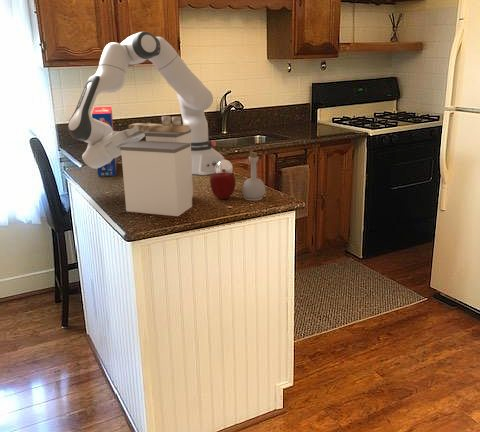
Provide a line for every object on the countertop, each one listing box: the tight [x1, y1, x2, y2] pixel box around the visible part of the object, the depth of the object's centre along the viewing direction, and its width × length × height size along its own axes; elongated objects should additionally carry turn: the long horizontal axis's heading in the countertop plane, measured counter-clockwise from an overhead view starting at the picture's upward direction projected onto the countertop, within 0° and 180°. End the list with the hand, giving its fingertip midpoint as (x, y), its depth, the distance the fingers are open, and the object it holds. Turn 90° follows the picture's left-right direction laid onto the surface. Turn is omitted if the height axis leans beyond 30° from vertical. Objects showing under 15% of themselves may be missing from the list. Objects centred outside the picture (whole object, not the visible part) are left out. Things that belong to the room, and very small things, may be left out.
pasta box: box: [91, 106, 117, 177], centre depth 245 cm, size 28×8×28 cm, turn 13°
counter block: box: [120, 129, 194, 217], centre depth 188 cm, size 20×24×26 cm
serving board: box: [128, 115, 190, 132], centre depth 190 cm, size 22×6×5 cm, turn 71°
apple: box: [209, 172, 236, 200], centre depth 197 cm, size 10×10×10 cm
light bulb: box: [215, 159, 234, 174], centre depth 210 cm, size 7×7×12 cm
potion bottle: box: [241, 150, 267, 202], centre depth 195 cm, size 9×9×18 cm
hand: (144, 125), depth 192 cm, fingers open, 7 cm apart
